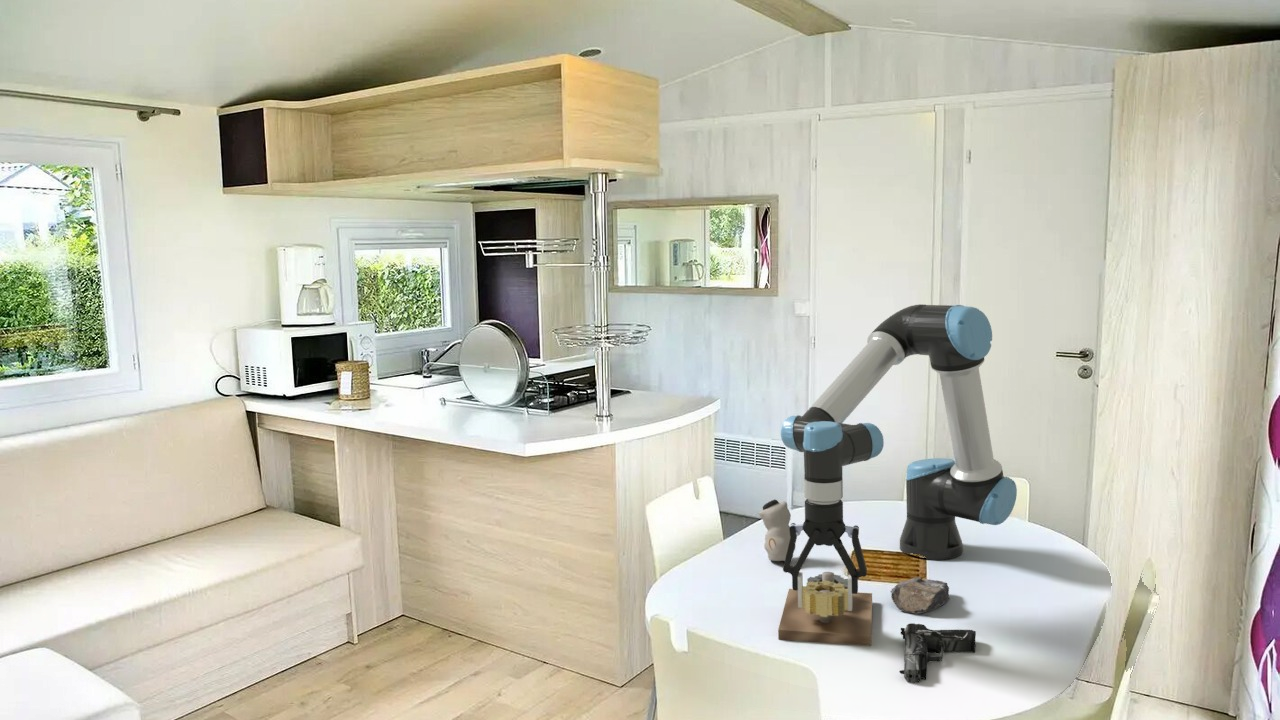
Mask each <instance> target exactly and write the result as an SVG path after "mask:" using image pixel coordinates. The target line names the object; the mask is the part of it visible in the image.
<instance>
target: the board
mask: <svg viewBox="0 0 1280 720" xmlns="http://www.w3.org/2000/svg"><path fill="white" fill-rule="evenodd" d="M821 574H822V582H823V581H830V582H834V575H835V573H834V572H831V571H824V572H821ZM819 592H824V593H830V592H831V591H829V590H821V591H819ZM872 621H873V593H872V592H871V593H870V592H859V591H858V592H857V594H852V611H847V610H844V614H843V615H840V616H837V615H833V616H829V615H828V617H820V615H816V614H814V613H812V614H809V613H807V612H806V610H805V608H798V590H793V588H788V592H787V596H786V599H785V604H784V606H783V609H782V615H781V618H780V621H779V625H778V626H779V627H778V630H777V631H778V633H777V634H778V638H777V639H778V640H783V641H798V642H810V643H811V642H812V643H827V644H837V645H838V644H840V645H852V646H853V645H854V646H869V647H871V646H872V629H873V627H872V625H873V624H872Z"/></svg>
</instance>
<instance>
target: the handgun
mask: <svg viewBox="0 0 1280 720" xmlns="http://www.w3.org/2000/svg"><path fill="white" fill-rule="evenodd" d="M976 632H977V631H975V630H973V629H930V628H927V626H926V625H925V624H920V623H915V622H914V623H911V622H910V623H907V624H906V626H905V627H900V635H901V636H902V639H903V640H904V649H903V650H904V652H903V663H904V665H903V666H904V667H903V668H904V669H903V670H899V673H900V674H901V675H903V678H904V679H905V681H906V682H907V683H915V684H916V683H920V682H921V681H922V680H921V679H924V680H925V681H926V680H927V675H928V674H927V672H928V671H927V665H928V663H931V662H933V663H935V662H937V663H940V662H942V661H943V657H944V653H955V652H956V653H959V652H960V653H976V638H977V637H976V634H977V633H976ZM931 654H938V655H937V656H934V655H931Z"/></svg>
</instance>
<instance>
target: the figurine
mask: <svg viewBox="0 0 1280 720" xmlns="http://www.w3.org/2000/svg"><path fill="white" fill-rule="evenodd" d="M758 515H759V516H760V518H761V519H762V522H763V525H764V526H765V528H766V530H767V531H766V534H765V536H764V537H765V538H764V549H765V551H766V552H767V557H768V560H769V561H775V562H785V558H786V554H787V550H788V546H789V542H790V530H789V528H790V521H791V516H792V515H791V512H790V510H789V508H788V503H787V501H782V502H779V500H777V499H772V500H770V501H768V502H766V503H765V504H764V505H763V506H762V510H761V511H759V513H758ZM795 551H796V544H795V547H794V552H793V554H794V553H795ZM793 558H794V555H793V556H792V559H793Z"/></svg>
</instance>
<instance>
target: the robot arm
mask: <svg viewBox="0 0 1280 720" xmlns="http://www.w3.org/2000/svg"><path fill="white" fill-rule="evenodd" d="M992 341H993V330H992V325H991V323H990V321H989V319H988V316H987V315H986V314H985V313H984V311H982V310H980V309H979V308H977V307H974V306H967V305H962V304H955V305H947V304H945V305H943V304H937V305H935V304H915V305H913V304H912V305H909V306H907V307H904V308H903V309H900V310H899V311H897V312H895V313H893V314H892V315H890V316H889V317H887V318H886V319H884V321H882V322H881V323H879V325H878V326H877V327H876V328H875V329H874V330H873V331H872V332H871V333H870V334H869V335H868V337H867V342H866V343H867V344H866V345H865V346H864V347H863V348H862V349H861V351H859V353H858V354H857V355H856V356H855V357H854V358H853V359H852V360H851V362H850V363H849V364H848V365H847V366H846V367H845V368H844V369H843V371H841V373H840V374H839V375H838V376H837V377H836V379H834V381H833V382H832V383H831V384H830V385H829V386H828V387H827V388H826V389H825V391H824V392H823V393H822V394H821V395H820V396H819V397H818V398H817V399H816V400H815V402H814V403H813V404H812V405H811V406H810V407H809V408H808V410H806V412H805V413H804V414H803V415H799V414H797V415H791V416H788V417H787V418H786V419H785V420H784V421H783V423H782V425H781V427H780V428H781V429H780V438H781V440H782V443H783V445H784V446H785V447H786V448H788V449H790V450H794V451H797V452H799V453H803V464H804V465H803V468H804V470H803V471H804V472H803V473H804V478H803V479H804V480H803V484H804V485H803V486H804V488H803V489H804V498H805V501H804V522H803V523H800V524H796V523H795V522H792V523H790V524H789V526H790V528H789V530H790V542H789V546H788V550H787V554H786V558H785V561H784V564H783V567H782V571H783V573H788V574H790V575H791V580H792V581H791V584H792V585H791V586H792V587H791V589H793V590H798V608H802V586H803V585H804V584H803V576H804V575H803V573H804V572H801V569H802V568H803V565H805V564H804V563H805V562H806V560H807V558H808V556H809V554H810V552H811V551H812V549H813V547H814V546H815V545H816V546H827V547H833V548H834V549H835V551H836V552H837V553H838V555H839V557H840V559H841V561H842V563H843V564H844V566H845V568H846V569H847V571H848V574H847V579H848V611H852V594H857V592H858V593H859V582H858V581H859V578H861V577H867V575H868V569H867V564H866V562H865V557H864V553H863V550H862V545H861V543H860V539H859V534H860V528H859V527H860V526H859V525H853V526H848V525H846V523H845V521H844V502H843V501H842V499H843V497H844V496H843V494H844V492H843V491H844V490H843V488H844V487H843V485H844V484H843V483H844V482H843V481H844V480H843V467H846V466H849V465H852V464H857V463H860V462H861V463H862V462H867V461H869V460H871V459H873V458H876V457H878V456H879V455H880V454H881V453H882V451H883V449H884V444H885V442H884V435H883V433H882V431H881V429H880V428H879V427H878V426H877V425H875V424H873V423H872V422H871V423H870V422H860V423H859V422H858V423H856V424H850V423H844V422H845V421H846V419H848V418H849V417H850V415H851V414H852V413H853V412H854V410H855V409H856V408H857V407H858V406H859V405H860V404H861V402H863V400H864V399H865V398H867V395H868V394H869V393H870V392H871V391H872V390H873V389H874V388H875V387H876V386H877V385H878V383H879V382H880V381H881V379H883V378H884V376H885V375H886V374H887V372H889V371H890V369H892V367H893V366H898V365H900V364H901V363H902V362H903V361H904V360H905V359H907V357H908V358H909V357H910V356H915V355H920V356H921V355H922V356H928V357H929V361H930V366H931V367H930V368H931V370H933V371H935V372H936V373H938V374H939V377H940V378H939V379H940V385H941V389H942V394H943V400H944V407H945V411H946V412H945V413H946V417H947V418H946V419H947V423H948V428H949V434H950V435H949V436H950V440H951V447H952V451H953V458H952V459H951V458H947V457H946V458H944V457H941V458H939V457H936V458H935V457H934V458H926V459H925V458H924V459H918V460H914V461H912V462H910V463H909V464H908V466H906V477H905V485H906V486H905V488H906V520H905V523H904V526H903V529H902V532H901V535H900V538H899V550H900V551H901V552H902V553H903V552H905V553H913V554H920V555H923V556H925V557H926V559H925V560H931V561H932V560H935V561H936V560H937V561H938V560H940V561H941V560H949V559H954V558H956V557H959V556H961V555H962V554H963V550H964V549H963V540H962V538H961V535H960V532H959V529H958V527H957V523H956V517H957V518H960V519H964V520H969V521H973V522H977V523H980V524H982V525H984V524H985V525H992V526H999V525H1001V524H1003V523H1004V522H1005V521H1006V520H1007V519H1008V518H1009V517H1010V515H1011V514H1012V512H1013V510H1014V507H1015V506H1016V505H1015V504H1016V500H1017V493H1018V492H1017V491H1018V489H1017V484H1016V482H1015V480H1013V478H1010V477H1007V476H1004V472H1003V471H1004V470H1003V466H1002V463H1000V462H999V461H998V460H996V458H994V453H993V447H992V441H991V435H990V428H989V422H988V416H987V411H986V410H987V409H986V404H985V398H984V393H983V386H982V380H981V374H980V367H981V366H982V364H983V363H984V362H985V357H987V355H988V354H989V353H990V350H991V348H992V343H991V342H992ZM802 531H803V532H804V533H805V534H806V536H807V537H808V539H807V541H806V544H805V545H804V547H803V549H802V551H801V553H800V554H799V557H798V558H797V560H796V562H795V563H794V565H792V561H793V558H792V556H793V557H794V553H795V550H794V547H795V548H796V546H795V545H796V542H797V540H798V539H797V538H798V536H800V535H801V532H802ZM845 533H846V534H847V536H848V537H849V539H850V538H851V542H852V547H853V550H854V555H855V559H856V563H857V566H858V568H856V565H855V563H854V562H853V560H852V558H851V557H850V555H849V553H848V551H847V549H846V548H845V546H844V544H843V542H842V541H843V540H842V539H841V537H842V536H843V535H844V534H845ZM793 552H794V553H793ZM905 553H904V554H905Z"/></svg>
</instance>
